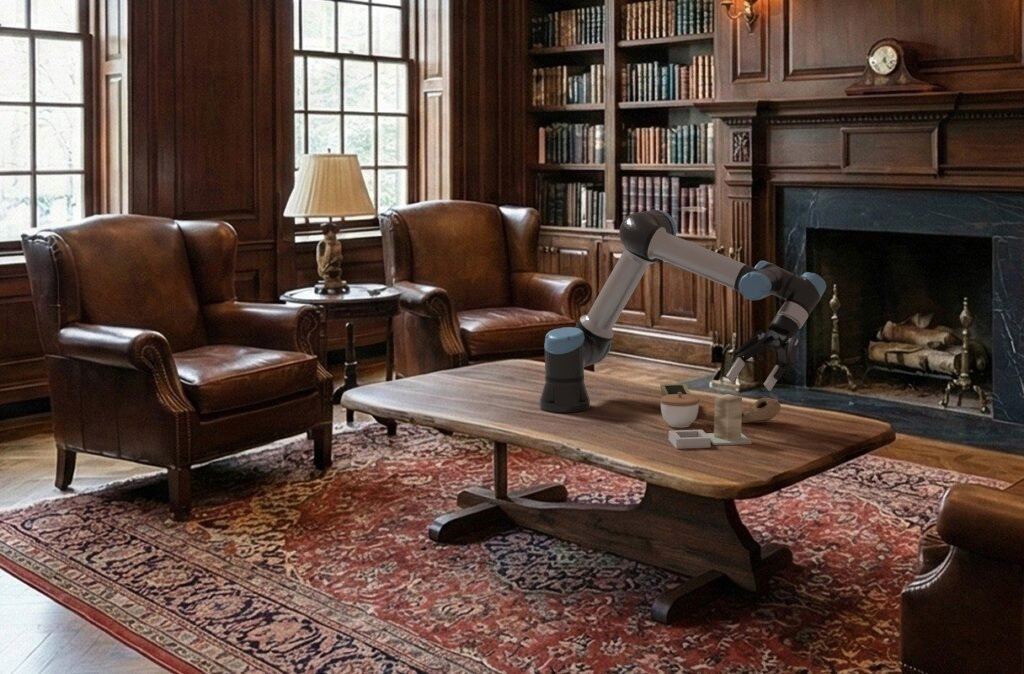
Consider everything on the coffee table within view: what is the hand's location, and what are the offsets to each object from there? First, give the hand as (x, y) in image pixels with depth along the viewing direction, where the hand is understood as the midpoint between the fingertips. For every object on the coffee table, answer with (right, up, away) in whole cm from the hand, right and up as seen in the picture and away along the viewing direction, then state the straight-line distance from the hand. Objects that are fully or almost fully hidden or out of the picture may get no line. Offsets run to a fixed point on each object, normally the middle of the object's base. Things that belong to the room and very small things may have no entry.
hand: (747, 383), depth 302 cm
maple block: (-6, -14, -1) cm, 15 cm away
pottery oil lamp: (+6, -12, +16) cm, 21 cm away
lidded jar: (-16, -13, +15) cm, 25 cm away
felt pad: (-6, -15, -1) cm, 16 cm away
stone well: (-16, -16, -5) cm, 23 cm away
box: (-14, -10, +31) cm, 35 cm away
